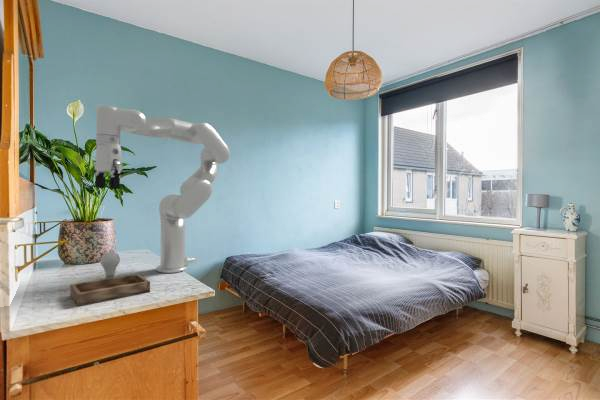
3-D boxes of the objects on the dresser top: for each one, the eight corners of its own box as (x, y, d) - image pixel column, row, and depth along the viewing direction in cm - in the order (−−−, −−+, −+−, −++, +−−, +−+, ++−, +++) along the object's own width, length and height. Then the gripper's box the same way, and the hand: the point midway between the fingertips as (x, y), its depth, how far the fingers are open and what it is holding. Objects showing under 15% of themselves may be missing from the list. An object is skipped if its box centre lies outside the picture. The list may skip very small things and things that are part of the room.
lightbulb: (123, 279, 117) (123, 250, 117) (112, 284, 111) (112, 254, 111) (108, 278, 118) (108, 249, 117) (96, 283, 112) (96, 253, 111)
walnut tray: (138, 283, 114) (138, 273, 114) (149, 291, 105) (150, 281, 105) (70, 295, 100) (70, 284, 100) (77, 306, 91) (77, 294, 91)
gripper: (132, 141, 113) (131, 189, 113) (106, 143, 122) (105, 187, 122) (110, 138, 106) (109, 188, 107) (85, 140, 115) (84, 187, 116)
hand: (107, 188), depth 115 cm, fingers open, 9 cm apart
